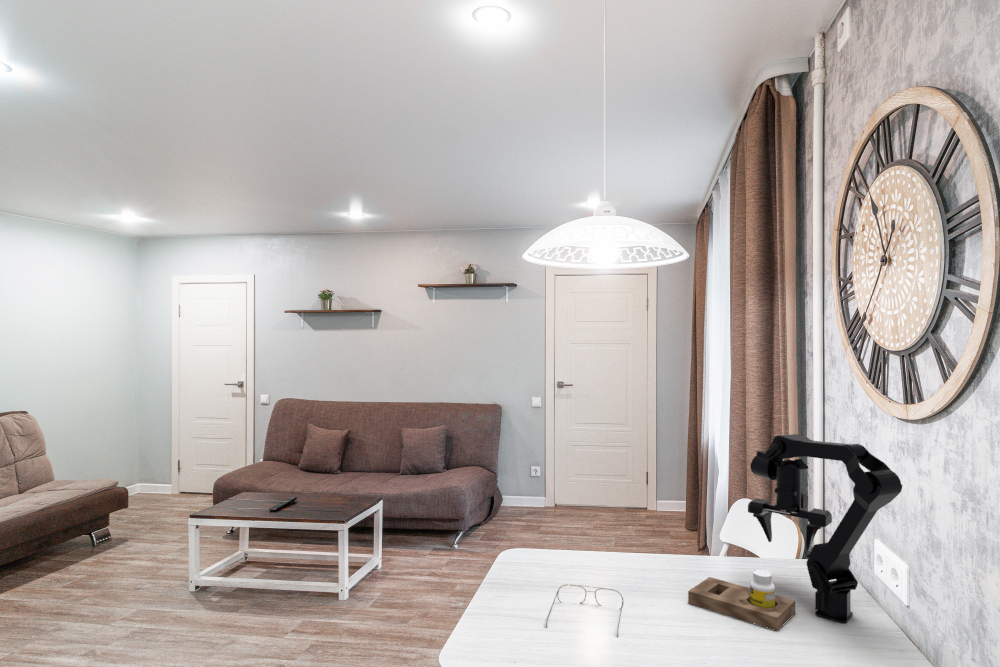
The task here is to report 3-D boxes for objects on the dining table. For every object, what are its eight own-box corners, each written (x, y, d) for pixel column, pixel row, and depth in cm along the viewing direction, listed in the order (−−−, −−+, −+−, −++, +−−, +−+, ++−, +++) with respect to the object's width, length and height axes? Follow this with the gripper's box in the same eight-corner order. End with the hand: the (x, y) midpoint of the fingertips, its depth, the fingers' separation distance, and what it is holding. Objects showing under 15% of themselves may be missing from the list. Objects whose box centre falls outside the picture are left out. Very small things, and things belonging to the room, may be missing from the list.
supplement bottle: (745, 611, 147) (745, 570, 147) (763, 608, 149) (763, 567, 149) (761, 621, 142) (761, 578, 142) (780, 618, 144) (780, 575, 144)
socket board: (795, 613, 146) (795, 600, 146) (777, 631, 137) (777, 617, 137) (709, 588, 160) (709, 576, 160) (688, 603, 152) (688, 591, 152)
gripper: (838, 484, 157) (838, 546, 157) (762, 473, 170) (762, 530, 170) (824, 492, 149) (825, 557, 149) (746, 480, 162) (747, 540, 162)
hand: (788, 545), depth 158 cm, fingers open, 9 cm apart
